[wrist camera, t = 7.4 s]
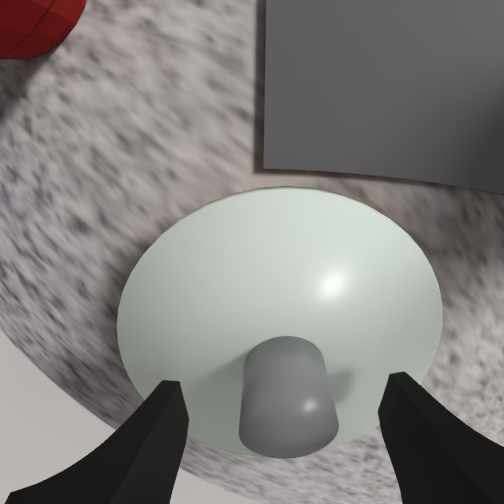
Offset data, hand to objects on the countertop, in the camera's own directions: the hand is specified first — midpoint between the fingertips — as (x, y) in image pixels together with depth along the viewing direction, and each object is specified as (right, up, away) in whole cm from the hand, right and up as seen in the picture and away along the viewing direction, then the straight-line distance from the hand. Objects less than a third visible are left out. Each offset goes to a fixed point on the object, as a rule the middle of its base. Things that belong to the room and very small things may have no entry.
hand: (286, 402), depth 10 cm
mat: (+7, +16, +1) cm, 18 cm away
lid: (0, +1, +2) cm, 2 cm away
